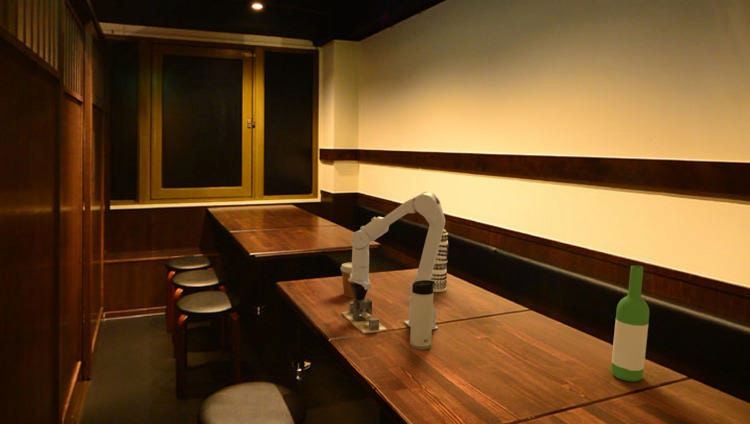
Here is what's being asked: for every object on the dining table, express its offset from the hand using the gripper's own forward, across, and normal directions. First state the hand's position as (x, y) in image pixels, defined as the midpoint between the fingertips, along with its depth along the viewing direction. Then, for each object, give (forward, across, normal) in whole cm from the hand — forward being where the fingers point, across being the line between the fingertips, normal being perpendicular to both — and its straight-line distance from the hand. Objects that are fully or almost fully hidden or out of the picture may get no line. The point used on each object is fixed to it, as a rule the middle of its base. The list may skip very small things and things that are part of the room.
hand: (359, 304), depth 180 cm
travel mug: (+5, +29, +9) cm, 30 cm away
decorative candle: (+5, -24, +43) cm, 50 cm away
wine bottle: (+5, +66, +51) cm, 83 cm away
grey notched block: (+5, +3, 0) cm, 6 cm away
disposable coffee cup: (+5, -26, +7) cm, 28 cm away
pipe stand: (+5, +4, 0) cm, 6 cm away
